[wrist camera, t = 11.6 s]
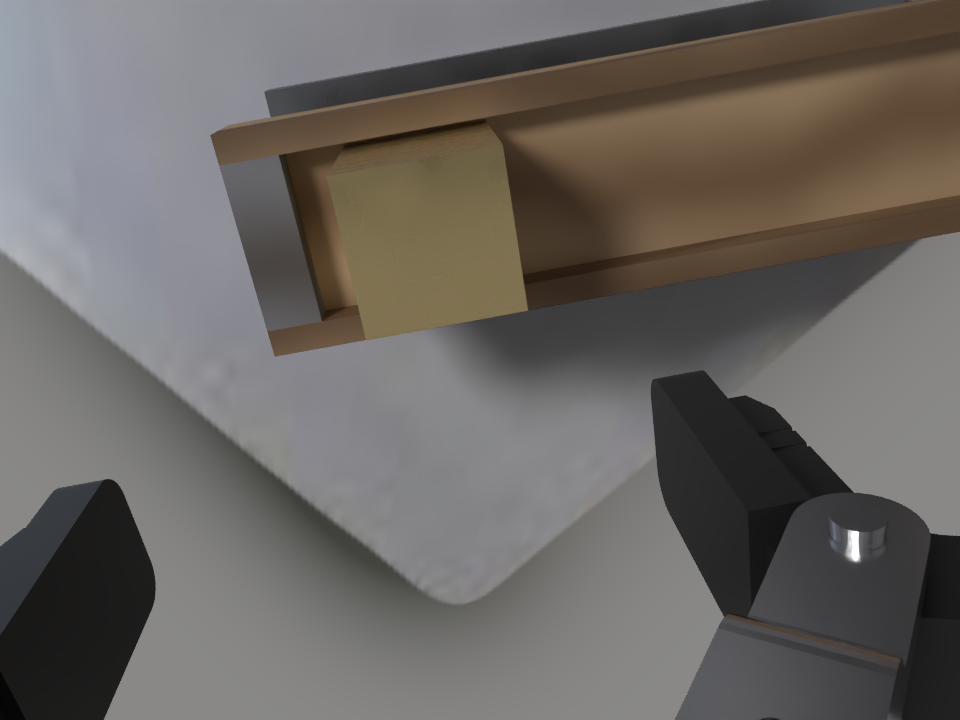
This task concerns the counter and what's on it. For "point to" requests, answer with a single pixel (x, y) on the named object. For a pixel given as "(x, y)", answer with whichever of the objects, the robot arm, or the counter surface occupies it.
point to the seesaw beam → (641, 162)
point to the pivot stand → (556, 52)
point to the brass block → (428, 229)
